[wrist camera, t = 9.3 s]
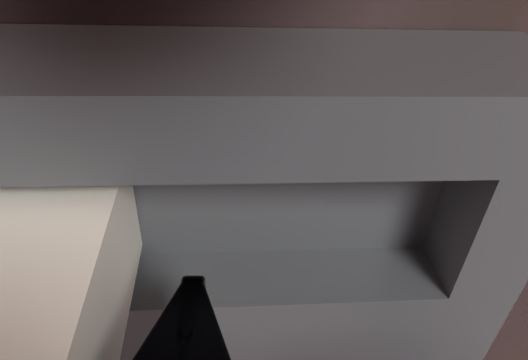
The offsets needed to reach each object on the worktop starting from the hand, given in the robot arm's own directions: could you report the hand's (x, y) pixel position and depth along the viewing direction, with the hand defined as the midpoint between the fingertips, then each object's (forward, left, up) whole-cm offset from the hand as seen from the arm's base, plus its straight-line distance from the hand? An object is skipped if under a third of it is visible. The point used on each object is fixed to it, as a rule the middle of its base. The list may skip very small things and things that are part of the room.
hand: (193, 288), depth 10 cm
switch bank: (0, +5, -5) cm, 7 cm away
